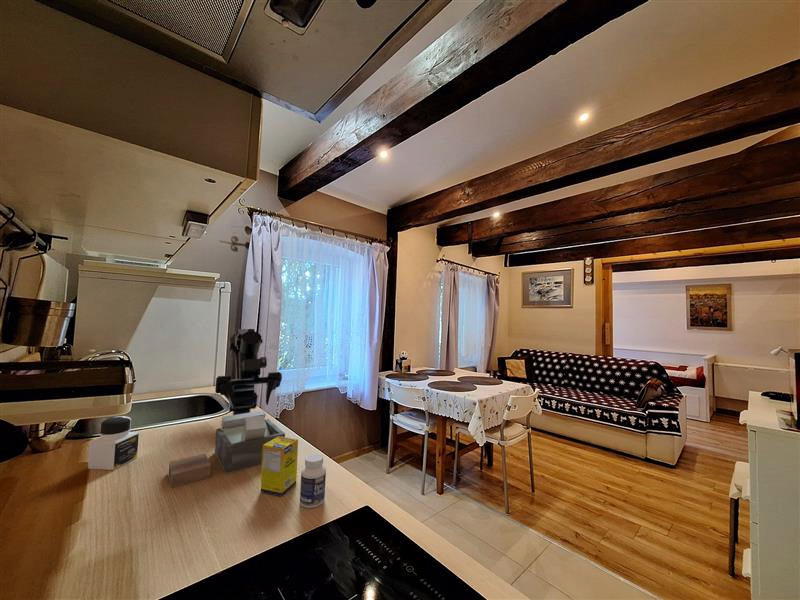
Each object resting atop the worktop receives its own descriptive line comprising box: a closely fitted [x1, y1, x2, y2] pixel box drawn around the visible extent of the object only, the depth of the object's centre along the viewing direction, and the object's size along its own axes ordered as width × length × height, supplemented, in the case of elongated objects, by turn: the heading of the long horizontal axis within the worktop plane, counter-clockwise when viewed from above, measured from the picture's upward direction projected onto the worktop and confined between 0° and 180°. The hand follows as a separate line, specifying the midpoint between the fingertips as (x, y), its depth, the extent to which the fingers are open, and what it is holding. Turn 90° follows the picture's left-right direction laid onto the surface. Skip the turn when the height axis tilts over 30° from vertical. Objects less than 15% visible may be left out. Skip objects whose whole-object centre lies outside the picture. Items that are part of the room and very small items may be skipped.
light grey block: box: [241, 416, 266, 442], centre depth 89 cm, size 5×5×8 cm
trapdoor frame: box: [214, 418, 286, 474], centre depth 91 cm, size 15×15×7 cm
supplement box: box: [260, 436, 299, 497], centre depth 75 cm, size 6×6×11 cm
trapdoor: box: [220, 409, 270, 444], centre depth 93 cm, size 15×12×3 cm
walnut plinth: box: [168, 453, 212, 488], centre depth 79 cm, size 8×8×3 cm
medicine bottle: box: [87, 415, 139, 471], centre depth 84 cm, size 7×7×12 cm
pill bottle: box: [299, 453, 327, 509], centre depth 70 cm, size 5×5×10 cm
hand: (251, 406), depth 94 cm, fingers open, 9 cm apart
